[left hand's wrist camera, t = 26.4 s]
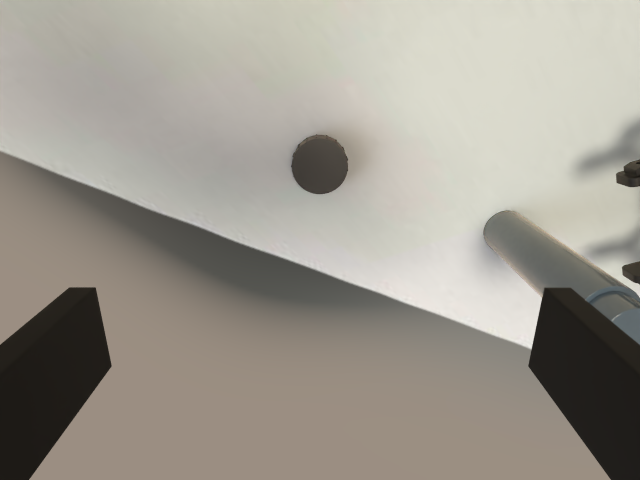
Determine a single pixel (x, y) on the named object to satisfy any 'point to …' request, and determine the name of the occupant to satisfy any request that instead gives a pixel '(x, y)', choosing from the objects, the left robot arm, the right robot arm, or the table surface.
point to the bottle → (561, 269)
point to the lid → (319, 164)
